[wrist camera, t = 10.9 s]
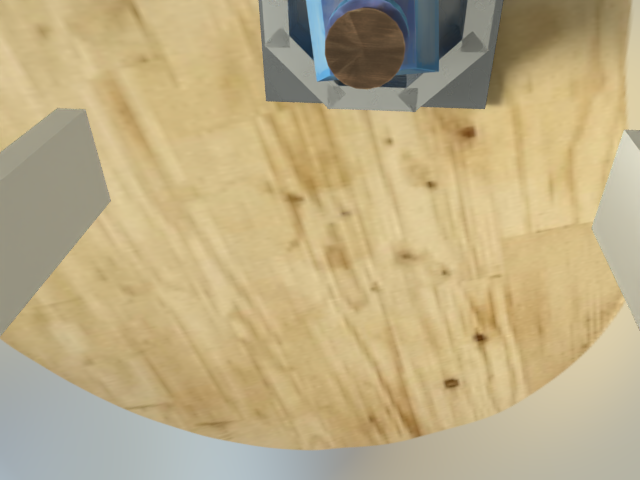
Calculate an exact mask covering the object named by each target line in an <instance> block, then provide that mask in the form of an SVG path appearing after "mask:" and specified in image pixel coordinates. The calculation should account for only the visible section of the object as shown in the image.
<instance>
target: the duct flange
mask: <svg viewBox="0 0 640 480" xmlns="http://www.w3.org/2000/svg"><path fill="white" fill-rule="evenodd" d="M502 6H503V0H439V72H429V73H417V74H405V75H395V76H394V77H393V78H392V79H391V80H390V81H388V82H387V83H385V84H383V85H382V86H380V87H376V88H372V89H368V90H367V89H355V88H353V87H350V86H348V85H345V84H344V83H342V82H341V81H340V80H332V81H320V82H317V79H316V71H315V64H314V56H313V49H312V42H311V34H310V27H309V19H308V12H307V5H306V0H259V11H260V25H261V38H262V51H263V65H264V78H265V92H266V101H276V102H304V103H324V104H325V105H326V106H327V108H329V109H356V110H383V111H410V112H416V110H417V109H419V108H420V107H444V108H472V109H485V106H486V100H487V94H488V88H489V82H490V76H491V70H492V65H493V59H494V53H495V47H496V41H497V35H498V29H499V23H500V17H501V11H502Z"/></svg>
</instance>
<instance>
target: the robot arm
mask: <svg viewBox="0 0 640 480" xmlns="http://www.w3.org/2000/svg"><path fill="white" fill-rule="evenodd" d="M110 201H111V200H110V196H109V192H108V189H107V185H106V182H105V178H104V175H103V171H102V167H101V164H100V160H99V157H98V153H97V150H96V146H95V142H94V139H93V135H92V132H91V128H90V125H89V121H88V117H87V114H86V110H85V109H63V108H57V109H56V110H54V111H53V112H52V113H50V114H49V115H48V116H47V117H45V118H44V119H43V120H41V121H40V122H39V123H38V124H36V125H35V126H34V127H32V128H31V129H30V130H29V131H27V132H26V133H25V134H23V135H22V136H21V137H19V138H18V139H17V140H16V141H14V142H13V143H12V144H10V145H9V146H8V147H7V148H5V149H4V150H3V151H1V152H0V336H1V335H2V334H3V332H4V331H5V330H6V329H7V327H8V326H9V325H10V324H11V323H12V321H13V320H14V319H15V318H16V316H17V315H18V314H19V313H20V312H21V310H22V309H23V308H24V307H25V305H26V304H27V303H28V302H29V301H30V299H31V298H32V297H33V296H34V294H35V293H36V292H37V291H38V289H39V288H40V287H41V286H42V285H43V283H44V282H45V281H46V280H47V278H48V277H49V276H50V275H51V274H52V272H53V271H54V270H55V269H56V267H57V266H58V265H59V264H60V263H61V261H62V260H63V259H64V258H65V256H66V255H67V254H68V253H69V251H70V250H71V249H72V248H73V247H74V245H75V244H76V243H77V242H78V240H79V239H80V238H81V237H82V236H83V234H84V233H85V232H86V231H87V229H88V228H89V227H90V226H91V225H92V223H93V222H94V221H95V220H96V218H97V217H98V216H99V215H100V213H101V212H102V211H103V210H104V209H105V207H106V206H107V205H108V204H109V202H110ZM592 230H593V233H594V235H595V237H596V239H597V241H598V243H599V245H600V247H601V250H602V252H603V254H604V256H605V258H606V260H607V262H608V264H609V267H610V269H611V271H612V273H613V275H614V277H615V279H616V281H617V283H618V286H619V288H620V290H621V292H622V294H623V296H624V298H625V300H626V303H627V305H628V307H629V309H630V311H631V313H632V315H633V317H634V320H635V322H636V324H637V326H638V328H639V330H640V130H624V132H623V135H622V138H621V141H620V144H619V147H618V150H617V153H616V156H615V159H614V162H613V165H612V168H611V171H610V174H609V177H608V180H607V183H606V186H605V189H604V192H603V195H602V198H601V201H600V204H599V207H598V210H597V213H596V216H595V219H594V222H593V225H592Z"/></svg>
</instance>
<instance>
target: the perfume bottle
mask: <svg viewBox="0 0 640 480" xmlns="http://www.w3.org/2000/svg"><path fill="white" fill-rule="evenodd" d="M306 5H307V12H308V19H309V27H310V34H311V42H312V49H313V56H314V64H315V71H316V79H317V82H320V81H332V80H340V81H341V82H342V83H344V84H345V85H348V86H350V87H353V88H355V89H367V90H368V89H372V88H376V87H380V86H382V85H383V84H385V83H387V82H388V81H390V80H391V79H392V78H393V77H394V76H395V75H405V74H417V73H429V72H439V0H306Z"/></svg>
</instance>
